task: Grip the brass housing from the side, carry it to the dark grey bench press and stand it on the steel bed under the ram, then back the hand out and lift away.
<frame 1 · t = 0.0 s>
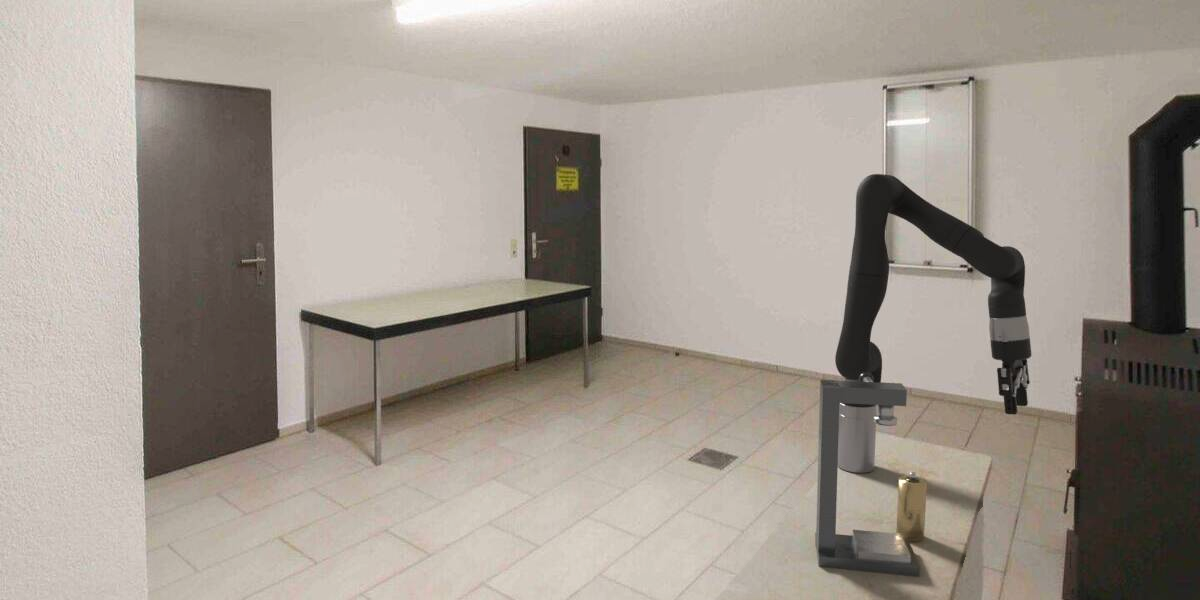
hand: (1016, 409, 151), 22 cm above the table, tool pointing down, fingers open, 8 cm apart
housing: (910, 536, 140), on the table
press: (879, 559, 131), on the table
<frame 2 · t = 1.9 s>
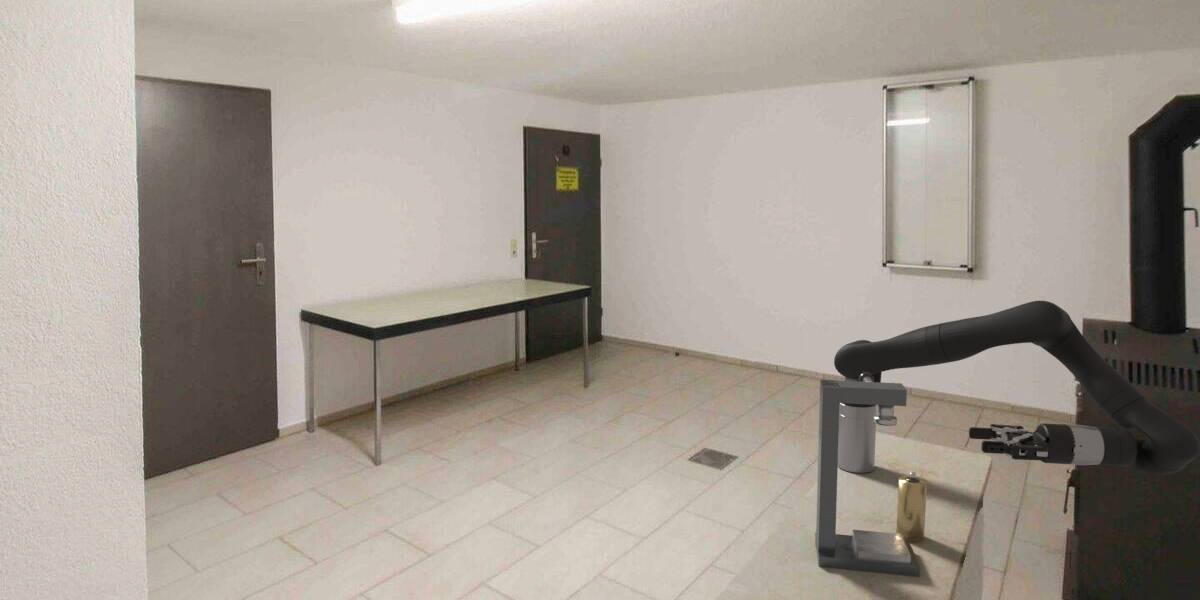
hand: (975, 439, 135), 21 cm above the table, tool horizontal, fingers open, 8 cm apart
nothing on the table moved.
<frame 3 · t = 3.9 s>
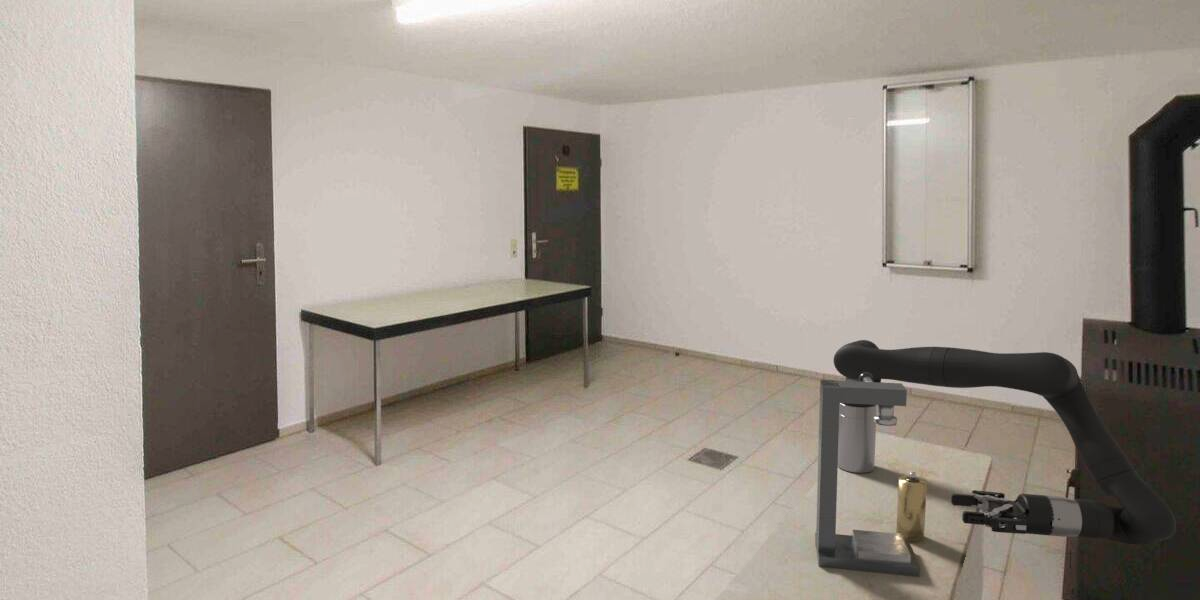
hand: (957, 507, 137), 7 cm above the table, tool horizontal, fingers open, 8 cm apart
nothing on the table moved.
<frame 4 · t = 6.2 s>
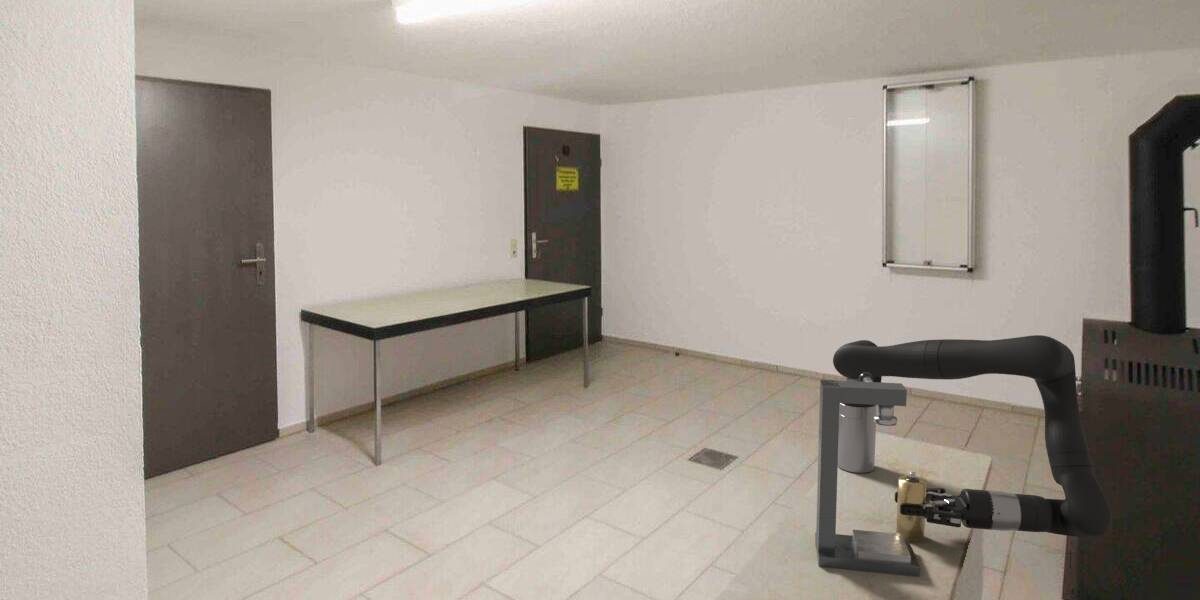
hand: (898, 502, 140), 7 cm above the table, tool horizontal, fingers closed on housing, 5 cm apart
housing: (910, 536, 140), on the table, touching gripper
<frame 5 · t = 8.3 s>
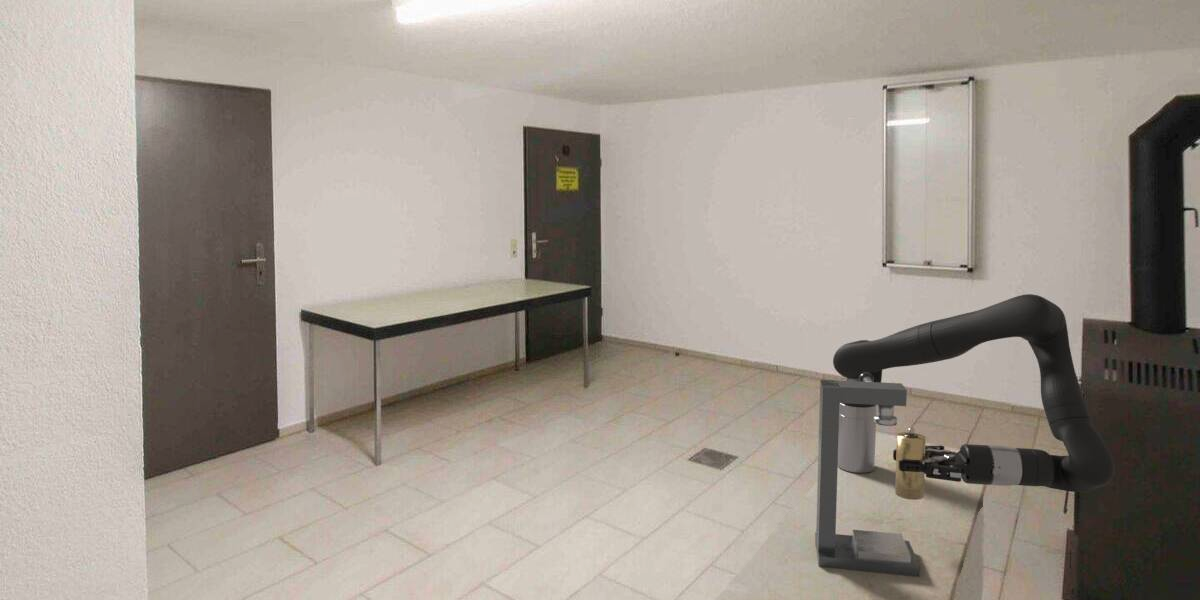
hand: (896, 459, 137), 17 cm above the table, tool horizontal, fingers closed on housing, 5 cm apart
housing: (909, 494, 137), point 10 cm above the table, touching gripper
when the fingers open (12 cm above the table, at t = 10.5 s): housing drops 1 cm, resting on press.
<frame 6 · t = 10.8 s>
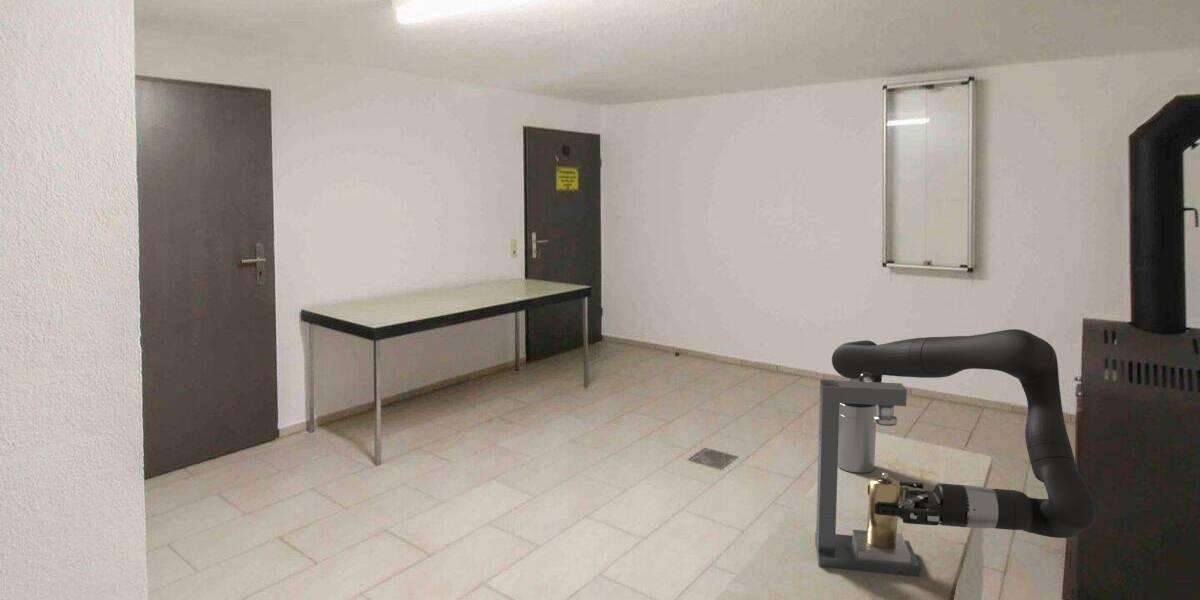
hand: (871, 498, 130), 12 cm above the table, tool horizontal, fingers open, 8 cm apart
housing: (881, 542, 131), point 4 cm above the table, touching press
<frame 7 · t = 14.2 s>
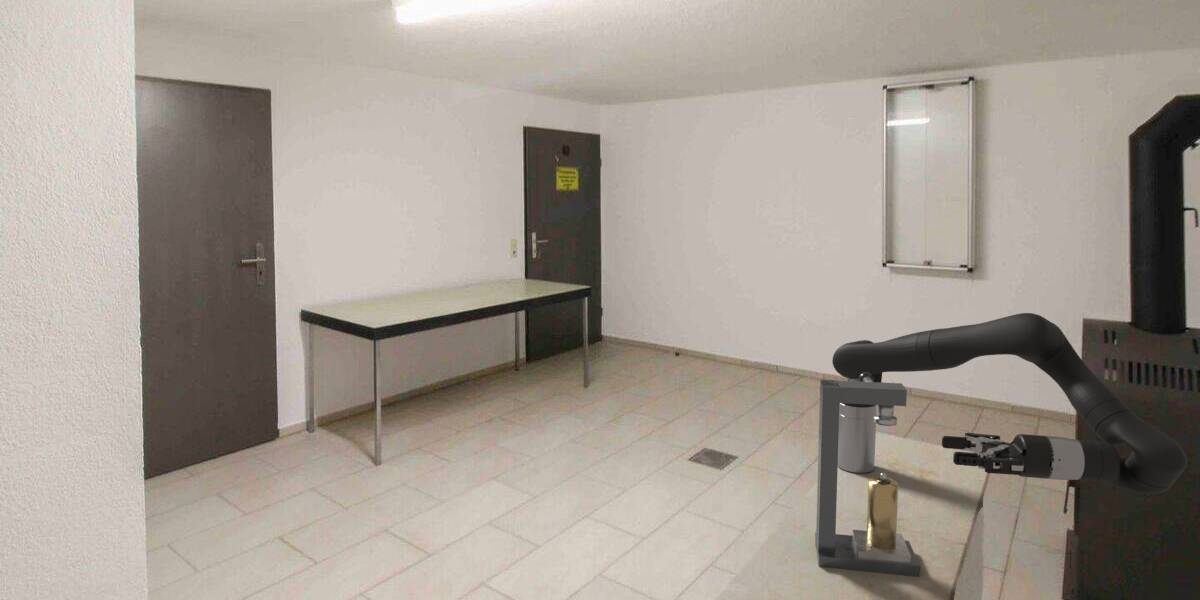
hand: (947, 449, 126), 23 cm above the table, tool horizontal, fingers open, 8 cm apart
nothing on the table moved.
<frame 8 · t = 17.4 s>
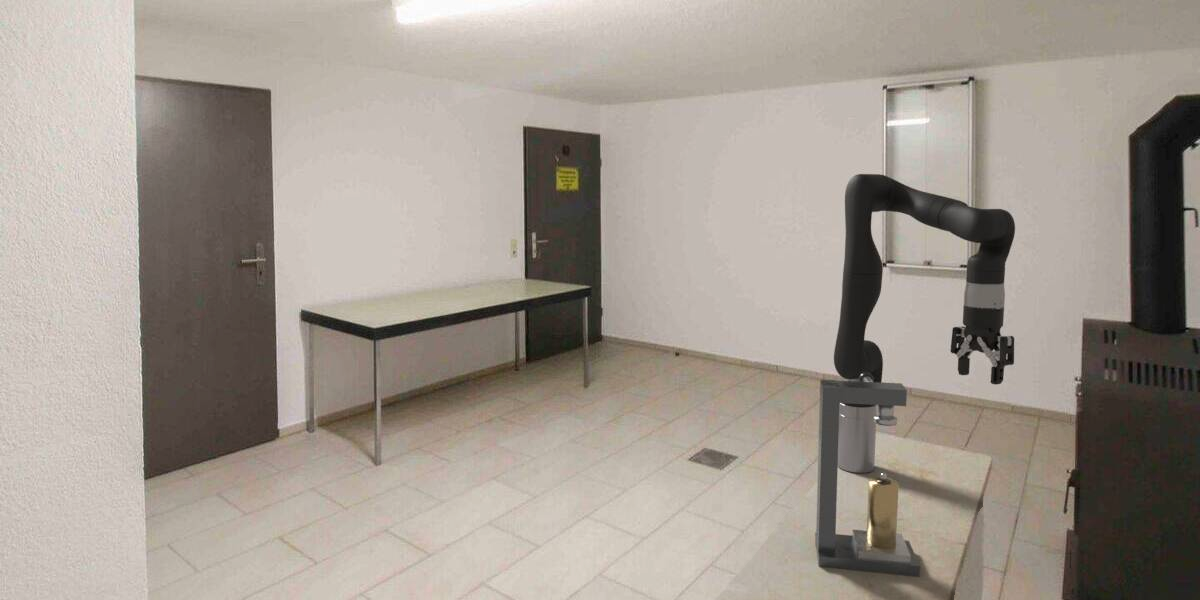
hand: (979, 379, 147), 30 cm above the table, tool pointing down, fingers open, 8 cm apart
nothing on the table moved.
at the end: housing 0.1 cm off-centre on the press, point 3.5 cm above the press's base; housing tilted 0°; the gripper is holding nothing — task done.
